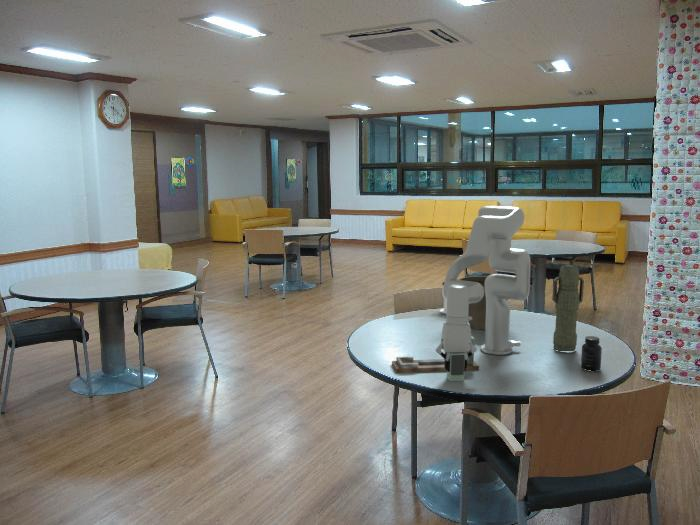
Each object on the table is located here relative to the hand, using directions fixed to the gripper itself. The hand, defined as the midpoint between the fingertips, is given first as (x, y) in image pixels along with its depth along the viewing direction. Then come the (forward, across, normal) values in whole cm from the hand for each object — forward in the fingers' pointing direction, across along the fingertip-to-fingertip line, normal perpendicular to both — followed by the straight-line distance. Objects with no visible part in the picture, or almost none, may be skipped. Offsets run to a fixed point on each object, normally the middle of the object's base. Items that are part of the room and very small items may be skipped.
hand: (455, 369), depth 208 cm
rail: (+3, +4, -13) cm, 14 cm away
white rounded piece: (+4, -26, -96) cm, 100 cm away
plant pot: (+4, -33, -67) cm, 75 cm away
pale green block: (+4, 0, 0) cm, 4 cm away
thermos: (+4, -54, -28) cm, 61 cm away
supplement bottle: (+4, -53, -5) cm, 53 cm away
